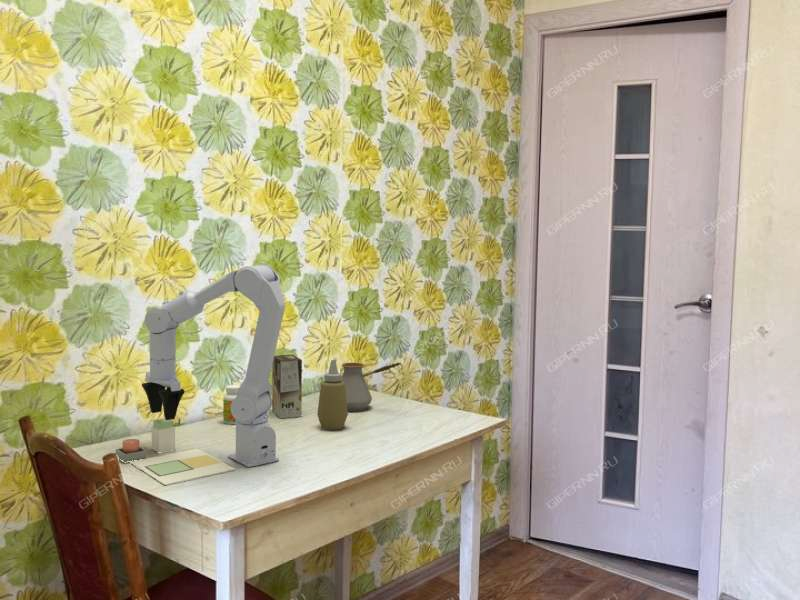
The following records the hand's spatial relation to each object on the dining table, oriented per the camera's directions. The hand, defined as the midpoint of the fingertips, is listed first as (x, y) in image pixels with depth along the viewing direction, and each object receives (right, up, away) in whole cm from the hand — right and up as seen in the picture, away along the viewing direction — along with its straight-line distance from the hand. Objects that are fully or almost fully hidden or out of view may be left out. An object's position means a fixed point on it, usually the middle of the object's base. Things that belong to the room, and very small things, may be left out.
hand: (163, 415), depth 178 cm
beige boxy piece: (0, -8, +1) cm, 8 cm away
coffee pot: (+46, -5, +42) cm, 63 cm away
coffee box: (+23, -5, +36) cm, 43 cm away
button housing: (-5, -9, -6) cm, 12 cm away
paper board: (+8, -10, -11) cm, 16 cm away
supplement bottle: (+11, -6, +26) cm, 29 cm away
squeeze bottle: (+37, -7, +23) cm, 45 cm away
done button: (-5, -7, -6) cm, 11 cm away
